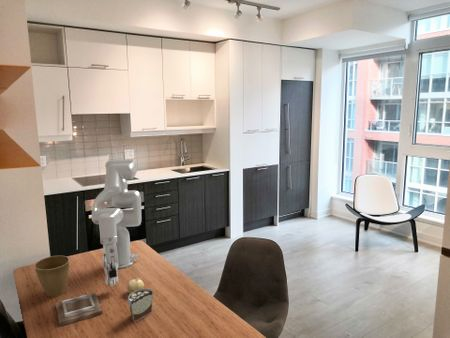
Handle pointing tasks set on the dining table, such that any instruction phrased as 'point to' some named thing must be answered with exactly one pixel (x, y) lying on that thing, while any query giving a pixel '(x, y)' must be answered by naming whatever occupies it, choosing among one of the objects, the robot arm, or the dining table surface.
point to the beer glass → (106, 268)
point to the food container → (140, 303)
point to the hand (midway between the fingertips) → (111, 273)
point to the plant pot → (53, 274)
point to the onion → (135, 285)
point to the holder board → (78, 308)
